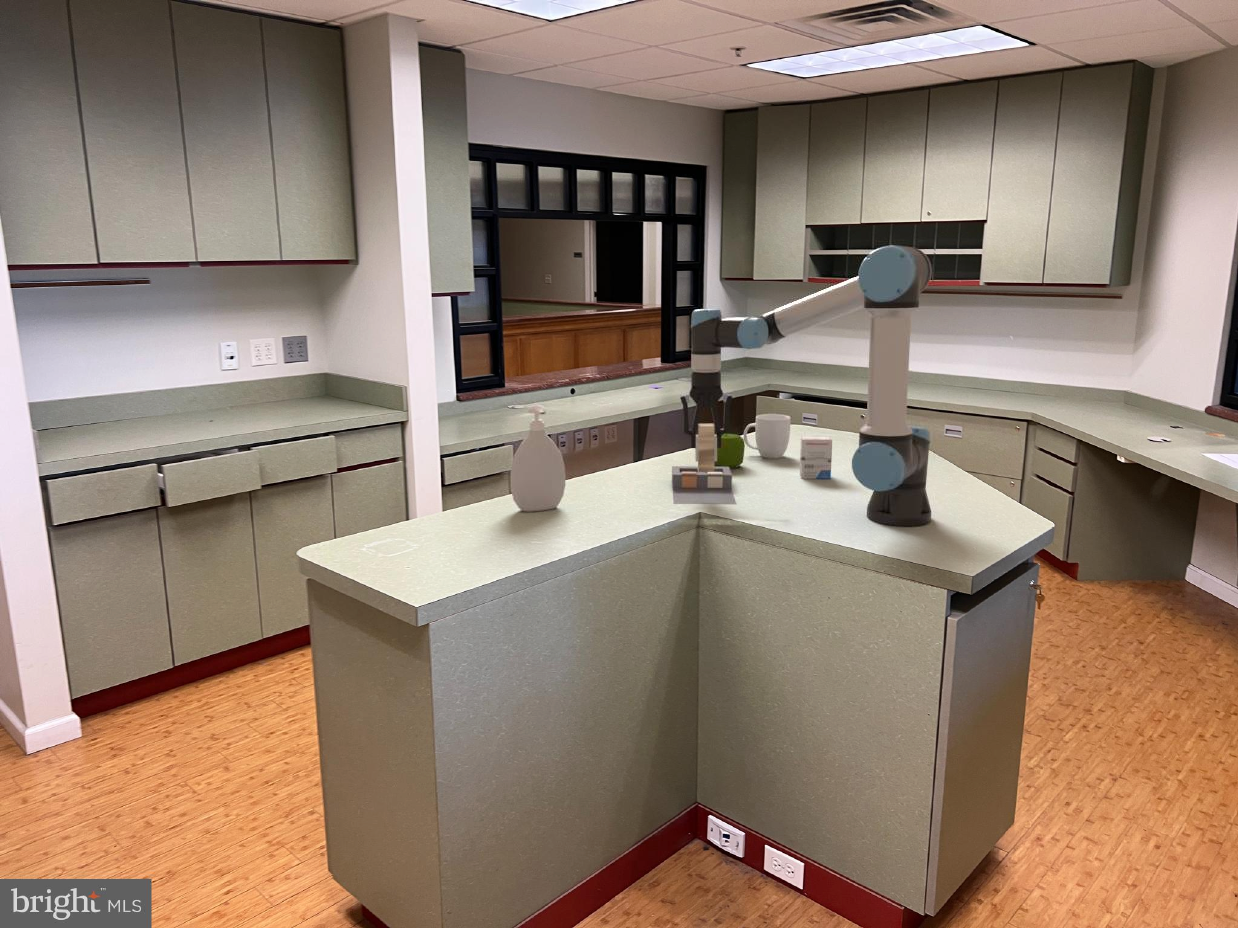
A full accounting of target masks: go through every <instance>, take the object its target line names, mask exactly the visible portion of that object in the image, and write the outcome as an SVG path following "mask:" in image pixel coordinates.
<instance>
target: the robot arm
mask: <svg viewBox="0 0 1238 928" xmlns="http://www.w3.org/2000/svg"><path fill="white" fill-rule="evenodd" d="M932 272H933V269H932V263H931V261H930V259H929V257H928V256H927V255H926V253H925V252H923V251H922V250H921V249H919V248H917V247H914V246H905V245H904V246H903V245H893V244H891V245H885V246H881V247H878V248H876V249H873V251H871V252H870V253H869V254H868V255H867V256H866V257H865V258H863V261H862V262H861V264H860V267H859V269H858V272H857V273H858V275H857V276H856V277H852V278H850V279H848V280H845V281H843V282H839V283H838V284H835V285H833V286H830V287H828V288H826V289H823V290H821V291H818V292H816V293H813V294H810V295H808V296H806V297H803V298H801V299H798V300H796V301H793V302H791V303H788V304H786V305H783V306H781V307H779V308H776V309H773V310H771V311H769V312H765V313H763V314H761V315H752V316H751V315H749V316H742V317H741V316H739V317H724V316H723V314H722V310H721V309H719V308H700V309H694V310H693V311H692V313H691V322H690V323H691V324H690V330H691V331H690V333H691V350H690V351H691V357H690V358H691V359H690V361H691V364H690V366H691V367H690V368H691V370H693V371H691V373H690V375H691V376H690V378H691V380H690V381H691V384H690V385H691V388H690V391H689V393H687V394H684V395H683V394H682V395H680V397H679V398H680V401H681V404H682V414H683V415H682V416H683V432H684V434H685V435H688V436H690V447H691V449H695V450H694V452H695V453H694V454H695V459H694V460H695V462H696V463H698V462H699V436H698V434H697V433H698V424H699V421H700V416H701V412H702V408H705V407H707V408H710V409H711V410H710V411H711V414H712V418H713V419H712V420H713V424H714V430H715V434H716V435H715V434H714V461H717V448H721V436H722V435H723V434H726V433H727V434H729V430H730V429H729V428H730V405H731V403H732V400H733V397H732V394H729V393H728V394H727V393H724V392H723V389H722V372H721V371H720V370H721V368H722V348H725V349H726V348H727V349H728V348H729V349H730V348H731V349H732V348H733V349H746V350H752V349H762V348H763V347H764V346H765V345H772V344H775V343H777V342H779V341H780V340H782V339H784V338H787V337H789V336H792V335H795V334H797V333H800V332H802V331H805V330H808V329H811V328H813V327H816V326H818V325H821V324H823V323H828V322H830V321H833V320H835V319H837V318H840V317H843V316H845V315H848V314H851V313H853V312H856V311H859V310H861V309H863V310H864V311H865V312H866V313H867V314H868V315H869V317H870V323H869V324H870V325H869V326H870V327H869V348H868V349H869V351H868V353H869V355H868V374H867V375H868V378H867V400H866V401H867V405H866V406H867V408H866V422H865V423H864V424H863V426H861V427H860V428H859V432H858V433H859V436H858V437H859V438H858V448H856V450H855V451H854V454H853V456H852V460H851V470H852V472H853V475H854V478H855V479H856V480H857V481H858V482H859V483H860V484H861V486H863V487H864V488H866V489H868V490H871V491H872V494H871V496H870V498H869V501H868V503H867V505H866V517H867V518H868V519H869V520H871V521H874V522H877V523H880V524H883V525H891V526H896V527H917V526H924V525H928V524H929V523H931V521H932V508H931V504H930V501H929V497H928V494H927V493H928V492H927V478H928V476H927V475H928V464H929V456H930V455H929V453H930V444H931V437H930V435H931V433H930V430H929V429H928V428H925V427H923V426H913V425H908V424H907V414H908V413H907V408H908V392H909V391H908V390H909V388H908V386H909V368H910V367H909V366H910V345H911V328H912V327H911V326H912V325H911V324H912V323H911V322H912V316H913V315H914V314H915V313H916V312H917V311H918V310H919V309H920V308H919V307H920V294H921V293H922V292H923V291H924V290H925V289H926V288H927V287H928V285H929V283H930V281H931V278H932V274H933V273H932ZM721 398H722V401H723V404H724V405H723V427H722V428H721V424H720V419H719V415H718V409H717V403H719V400H721ZM690 399H692V400H693V402H694V403H695V411H694V417H693V421H692V425H691V426H692V427H691V429H690V425H689V424H690V423H689V404H688V403H689V402H690Z"/></svg>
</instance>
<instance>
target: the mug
mask: <svg viewBox="0 0 1238 928" xmlns="http://www.w3.org/2000/svg"><path fill="white" fill-rule="evenodd" d="M752 427H753V428H755V429H754V431H755V444H756V445H753V444H751V443H750V442H749V440H748V435H747V434H748V431H749V429H750V428H752ZM790 435H791V416H790V415H786V414H780V413H779V414H778V413H777V414H776V413H765V414H757V415H756V416H755V422H754V423H749V424H748V425H747V426H746V427H745V429H744V431H743V439H744V444H746V445H745V446H747V447H749V449H752V450H754V451H755V450H756V451H758V453H759V455H760V456H761V457H762V458H764V459H769V460H770V459H774V460H775V459H781V458H782V457H783V456H784V455H785V453H786V451H787V448H788V446H789V442H790Z"/></svg>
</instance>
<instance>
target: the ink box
mask: <svg viewBox="0 0 1238 928" xmlns="http://www.w3.org/2000/svg"><path fill="white" fill-rule="evenodd" d="M799 449H800V453H799V477H800V479H801V480H802V479H805V480H808V479H809V480H810V479H811V480H813V479H817V480H819V479H820V480H831V475H832V461H833V460H832V459H833V458H832V457H833V439H832V438H831V437H830V436H829V437H828V436H800V448H799Z"/></svg>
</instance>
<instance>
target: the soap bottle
mask: <svg viewBox="0 0 1238 928" xmlns="http://www.w3.org/2000/svg"><path fill="white" fill-rule="evenodd" d="M526 412H527V413H528V414H534V419H533V418H532V419H531V420H530V422H529V433H528V434H527V435H526V436H525V438H524V439H523V440H522V441H521V443H520V445H519V446H518V448H517V450H516V452H515V453H514V455H513V457H512V458H513V459H512V463H511V468H510V476H509V477H510V480H509V482H510V492H511V495H512V500H513V502H514V503H515V504H516V506H517V508H518V509H519V510H520V511H522V512H525V513H526V512H527V513H528V512H529V513H532V512H542V511H543V512H544V511H548V510H549V511H550V510H554V509H555V508H557V507H558V506H559V504H560V503H561V501H562V498H564V494H565V489H566V488H565V487H566V468H565V462H564V459H563V455H562V452H561V451H560V449H559V448H558V446H557V444H556V443H555V442H554V441H553V439H551V438H550V436H548V435H547V433H546V430H545V421H544V420H543V419H542V418H540V415H541V416H542V415H547V414H546V413H547V409H546V407H545V406H544V405H541V404H538V403H537V404H532V405H530V406H529V407H528V408H527V409H526Z"/></svg>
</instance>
